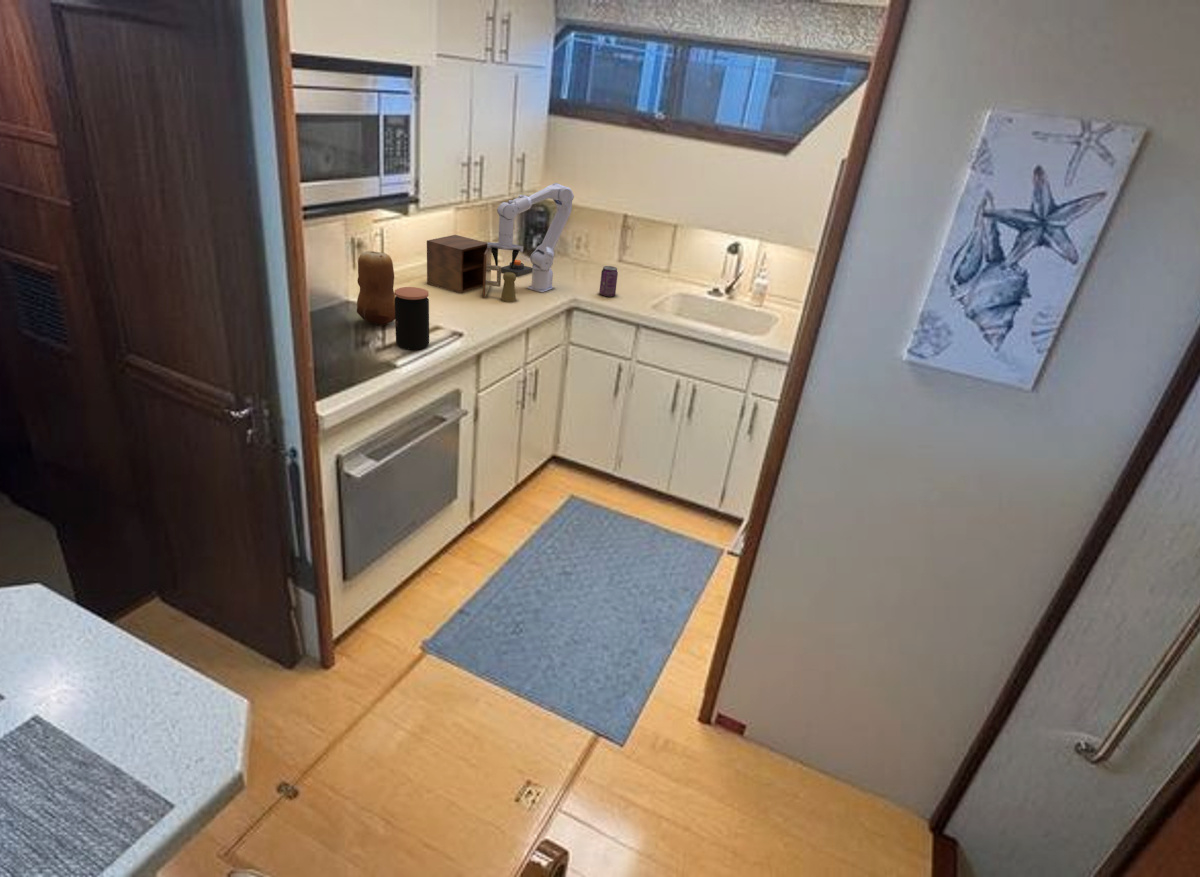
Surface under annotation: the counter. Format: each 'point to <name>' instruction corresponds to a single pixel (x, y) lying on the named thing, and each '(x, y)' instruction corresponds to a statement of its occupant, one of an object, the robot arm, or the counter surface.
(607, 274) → the beverage can
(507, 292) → the pepper shaker
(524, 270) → the switch block
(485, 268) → the door
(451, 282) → the cupboard
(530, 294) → the counter surface
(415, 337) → the coffee jar
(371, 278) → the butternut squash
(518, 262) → the button
